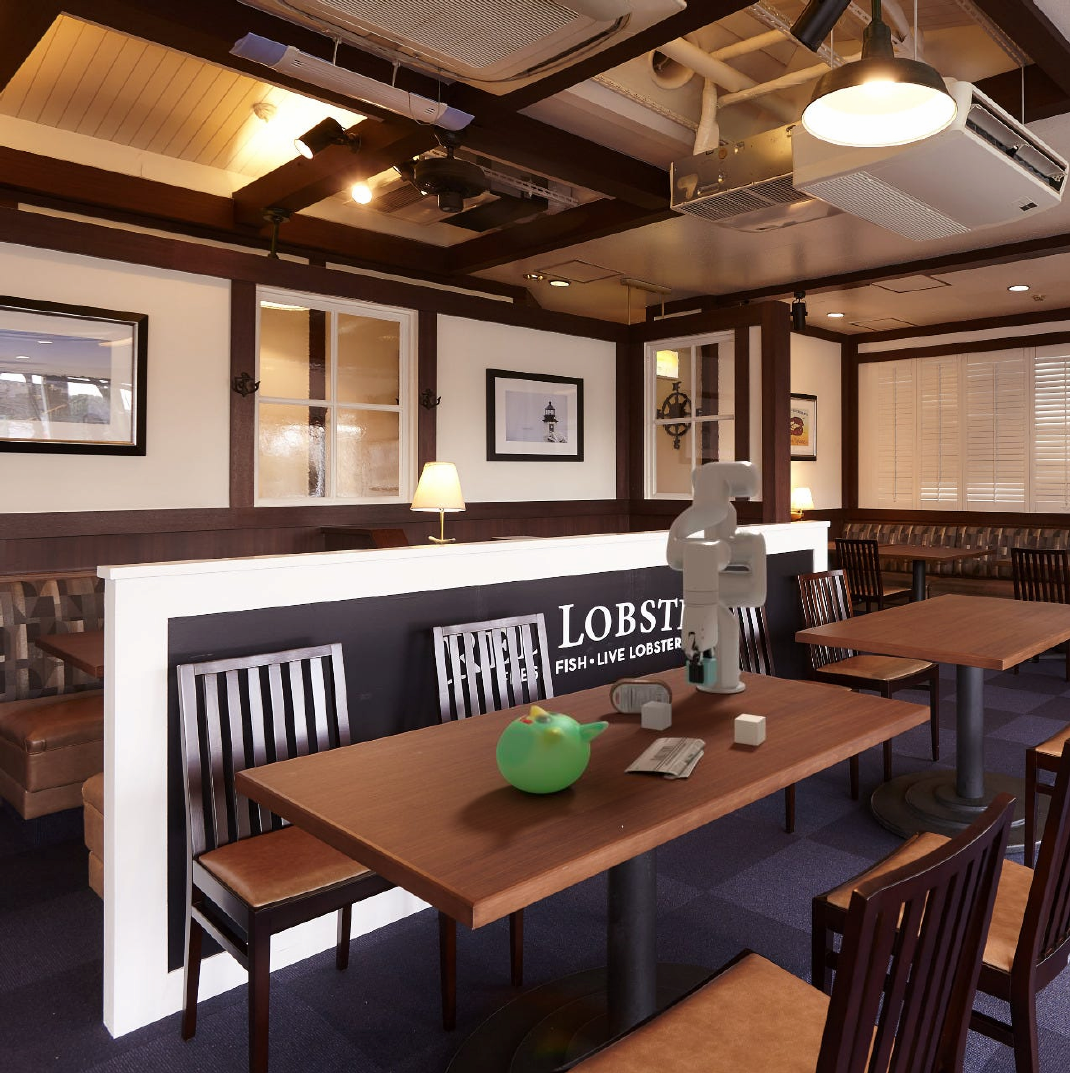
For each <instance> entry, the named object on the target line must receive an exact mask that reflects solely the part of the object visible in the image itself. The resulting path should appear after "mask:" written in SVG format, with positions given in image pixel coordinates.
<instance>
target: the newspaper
mask: <svg viewBox="0 0 1070 1073" xmlns="http://www.w3.org/2000/svg"><path fill="white" fill-rule="evenodd" d="M705 746H706V742H705V741H703V740H702V739H701V738H691V737H661V738H657V739H655V741H654V742H652V744H650V746H649V747H648V748H647V749H645V751H644V752H642V754H640V755H639V757H637V758H636V759H635V760H634V761H633V763H632V764H630V765H629V766H628V767H626V769H625V770H624V771H623V774H625V773H626V774H627V773H628V772H661V773H662V772H663V773H665V774H664V775H663V778H665V779H668V780H675V779H678V778H685V777H686V778H688V777H690V775H691V772H693V770H694V767H695V766H696V765H697V763H698V761H699V760H700V759H701V758H702V756H703V755H704V753H705V752H704V750H703V748H704V747H705Z"/></svg>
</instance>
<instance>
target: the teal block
mask: <svg viewBox="0 0 1070 1073" xmlns="http://www.w3.org/2000/svg"><path fill="white" fill-rule="evenodd" d="M685 663H686V664H685V665H686V666H685V667H686V669H685V671H686V673H685V676H686V681H685V682H686V683H685V684H686V685H694V686H697V685H701V686H710V685H711V684H713V683H715V682H717V659H711V658H702V665H704V683H702V684H699V683H691V682H689V664H688V660H686V661H685Z"/></svg>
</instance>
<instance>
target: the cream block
mask: <svg viewBox="0 0 1070 1073" xmlns="http://www.w3.org/2000/svg"><path fill="white" fill-rule="evenodd" d="M766 720H767V719H766V716H761V715H752V714H746V713H742V714H740V715H739V716H737V717H736V718H735V719H734V743H738V744H745V745H751V746H757V747H758V746H759V745H760V744H762V743H763V742H765V741H766V734H767V732H766V730H767V729H766V722H767V721H766Z"/></svg>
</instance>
